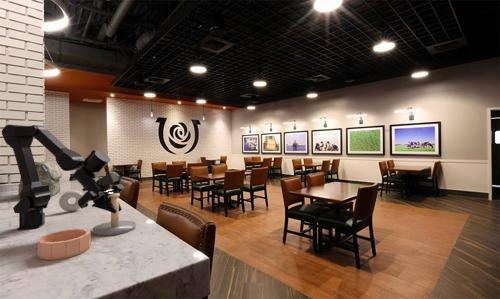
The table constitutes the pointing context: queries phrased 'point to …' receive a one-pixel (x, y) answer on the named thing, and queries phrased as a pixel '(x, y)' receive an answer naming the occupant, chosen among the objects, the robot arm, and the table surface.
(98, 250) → the table surface
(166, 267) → the table surface
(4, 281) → the table surface
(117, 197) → the cover
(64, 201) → the donut
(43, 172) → the lunch bag
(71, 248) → the bowl
